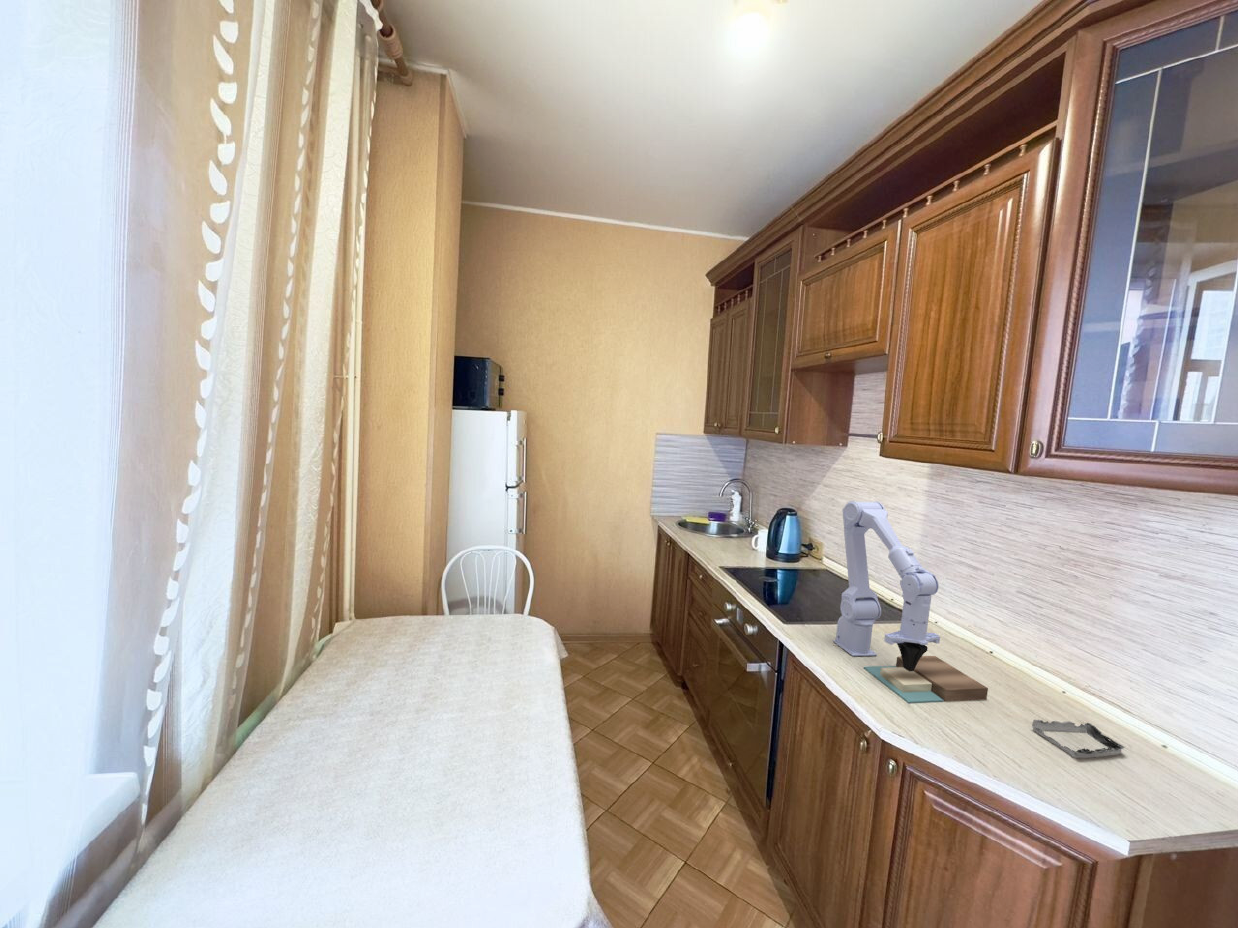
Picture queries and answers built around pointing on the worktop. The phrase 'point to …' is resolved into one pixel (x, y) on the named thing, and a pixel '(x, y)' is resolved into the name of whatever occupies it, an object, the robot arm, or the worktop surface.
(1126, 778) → the worktop surface
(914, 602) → the robot arm
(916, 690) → the cream square slab
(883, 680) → the rubber mat
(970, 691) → the walnut board
